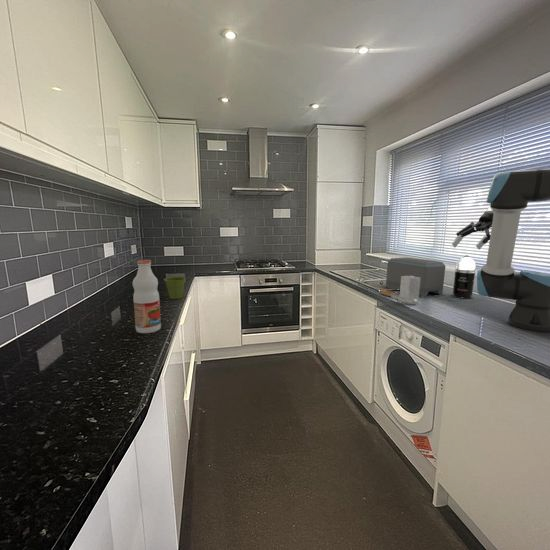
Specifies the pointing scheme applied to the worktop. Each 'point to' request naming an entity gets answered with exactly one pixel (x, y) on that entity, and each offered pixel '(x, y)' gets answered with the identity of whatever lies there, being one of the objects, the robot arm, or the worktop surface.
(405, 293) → the socket
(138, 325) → the fruit juice
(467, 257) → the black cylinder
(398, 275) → the toaster
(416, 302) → the ratchet
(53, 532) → the worktop surface
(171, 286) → the plant pot
